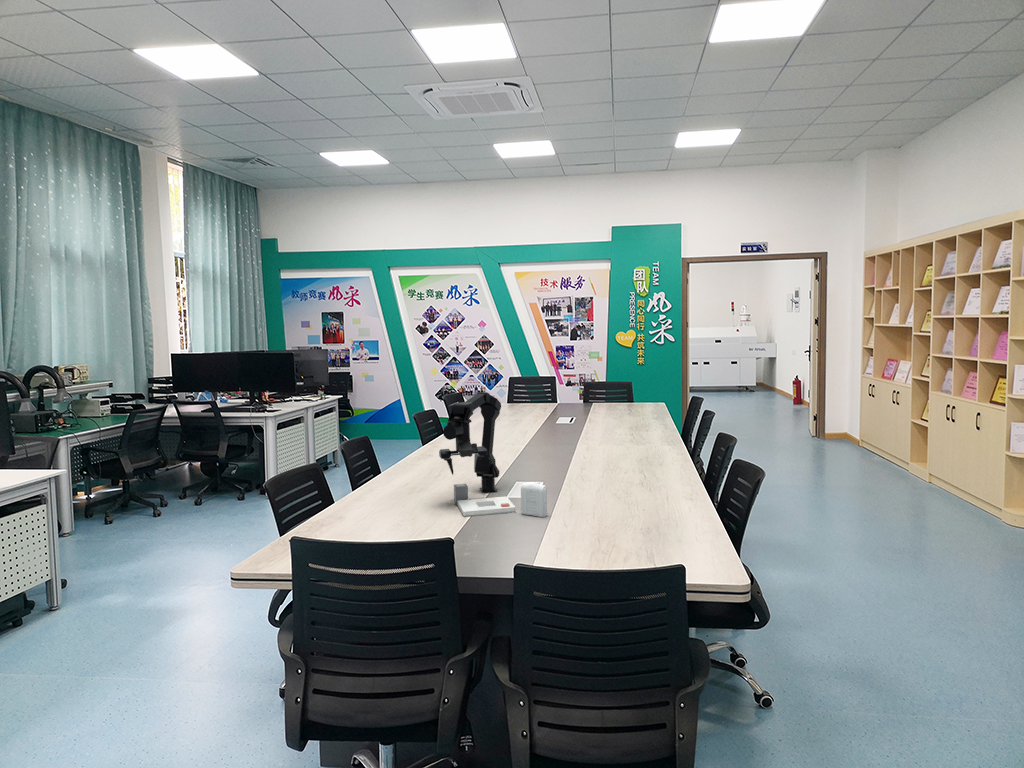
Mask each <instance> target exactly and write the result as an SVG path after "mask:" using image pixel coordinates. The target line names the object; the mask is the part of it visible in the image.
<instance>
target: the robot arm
mask: <svg viewBox="0 0 1024 768" xmlns="http://www.w3.org/2000/svg"><path fill="white" fill-rule="evenodd" d="M478 408H480V414H481V416H482V419H483V427H482V435H481V436H482V438H481V439H482V441H481V446H479V445H478V444H477V443H475V442H474V443H471V433H470V431H471V430H470V423H472V419H471V417H472V416H473V414H474V411H475V410H476V409H478ZM501 408H502V403H501V401H500V400H499V399H498V398H497V397H495V396H493V395H491V394H490V393H489V392H484V391H479V392H476V394H475V395H474V396H472V397H470V398H469V399H468V400H465V401H463V402H461V401H460V402H457V403H455V404H453V405H452V407H451V410H450V414H449V417H448V419H447V423H446V425H445V426H444V428H443V429H442V433H443V436H444V438H446V440H450V441H451V440H455V450H450V449H449V448H443V449H442V448H441V449H439V450H438V451H439V452H438V453H439V455H438V456H439V458H440V459H441V460H444V461H446V463H447V465H448V467H449V471H450V472H451V475H452V476H453V475H454V466H453V458H452V456H459V457H461V458H465V457H470V458H471V457H474V458H473V459H474V461H473V462H474V464H473V466H474V467H473V469H474V470H473V471H474V473H475V474H476V477H477V478H479V477H480V478H481V487H479V490H480V491H481V493H492V492H497V491H498V489H497V488H496V482H495V481H496V480H495V479H497V478H499V476H500V469H499V467H497V464H496V458H495V457H494V454H493V452H494V440H495V438H494V437H495V428H496V427H495V425H496V420H497V419H498V418H499V416H500V413H501ZM473 455H474V456H473Z"/></svg>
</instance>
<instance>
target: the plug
mask: <svg viewBox="0 0 1024 768" xmlns="http://www.w3.org/2000/svg"><path fill="white" fill-rule="evenodd" d="M458 500H469V486H468V485H467V483H458V484H453V503H454V504H455V505H456V506H458Z"/></svg>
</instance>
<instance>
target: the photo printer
mask: <svg viewBox="0 0 1024 768" xmlns="http://www.w3.org/2000/svg"><path fill="white" fill-rule="evenodd" d="M520 512H521V514H522V515H527V516H534V517H535V516H536V517H538V518H539V517H540V518H544V517H547V515H548V488H547V486H546V485H544V484H542V483H540V482H536V481H535V482H534V481H529V482H528V481H527V482H524V483H521V486H520Z"/></svg>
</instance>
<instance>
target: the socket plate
mask: <svg viewBox="0 0 1024 768" xmlns="http://www.w3.org/2000/svg"><path fill="white" fill-rule="evenodd" d="M457 507H458V509H459V511H460V512H461V513H460V514H461V515H462V517H463V518H466V517H476V516H477V517H478V516H479V517H480V516H488V515H489V516H490V515H499V514H500V515H501V513H502V514H511V513H512V512H514V513H517V512H516V510H517V509H516V506H515V505H514V503H513V502H512V501H511V500H510V498H508V496H497V497H485V498H483V497H482V498H473V499H471V498H470V499H468V500H458V505H457Z"/></svg>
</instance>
